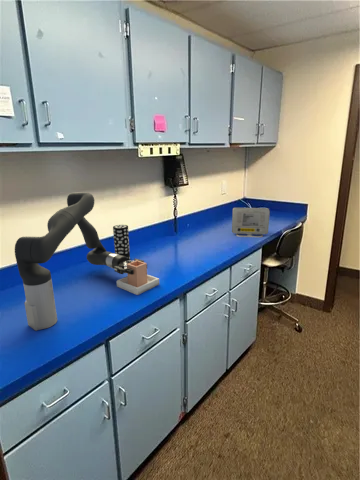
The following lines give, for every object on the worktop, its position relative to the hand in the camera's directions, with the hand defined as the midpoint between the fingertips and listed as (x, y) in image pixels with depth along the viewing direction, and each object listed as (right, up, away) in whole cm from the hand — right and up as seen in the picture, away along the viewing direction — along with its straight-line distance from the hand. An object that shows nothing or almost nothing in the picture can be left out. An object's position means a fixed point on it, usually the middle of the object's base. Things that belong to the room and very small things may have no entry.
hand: (140, 269), depth 141 cm
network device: (+69, +17, +83) cm, 109 cm away
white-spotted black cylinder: (-15, +2, +36) cm, 39 cm away
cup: (-2, -7, +3) cm, 8 cm away
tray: (-1, -8, +4) cm, 9 cm away
